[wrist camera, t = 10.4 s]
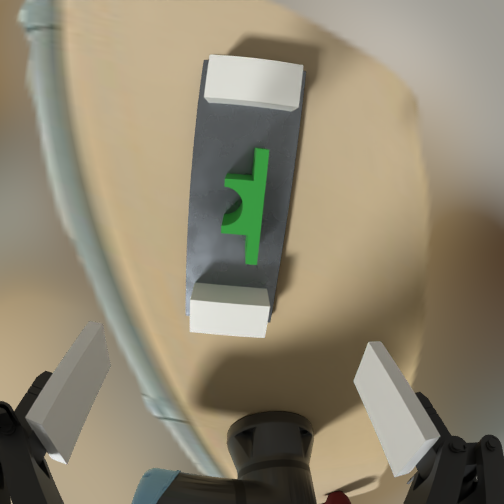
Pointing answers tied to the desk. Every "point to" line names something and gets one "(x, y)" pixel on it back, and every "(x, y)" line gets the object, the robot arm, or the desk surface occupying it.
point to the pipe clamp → (248, 204)
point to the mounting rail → (228, 200)
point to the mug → (337, 498)
